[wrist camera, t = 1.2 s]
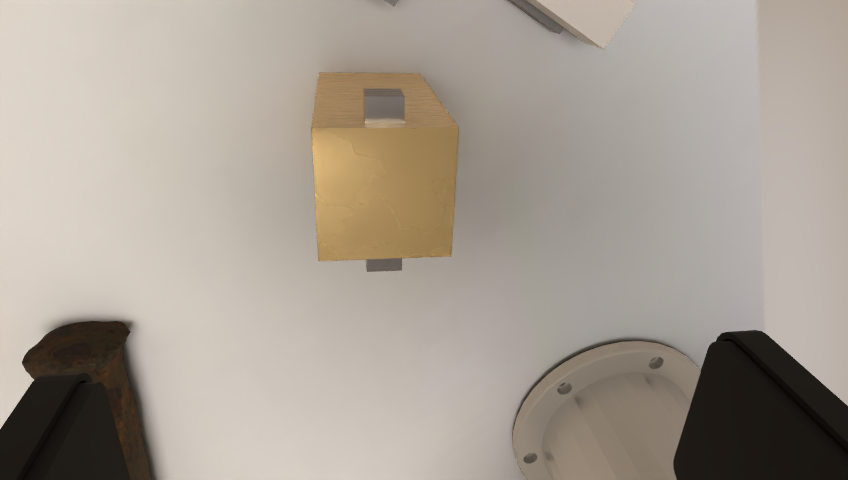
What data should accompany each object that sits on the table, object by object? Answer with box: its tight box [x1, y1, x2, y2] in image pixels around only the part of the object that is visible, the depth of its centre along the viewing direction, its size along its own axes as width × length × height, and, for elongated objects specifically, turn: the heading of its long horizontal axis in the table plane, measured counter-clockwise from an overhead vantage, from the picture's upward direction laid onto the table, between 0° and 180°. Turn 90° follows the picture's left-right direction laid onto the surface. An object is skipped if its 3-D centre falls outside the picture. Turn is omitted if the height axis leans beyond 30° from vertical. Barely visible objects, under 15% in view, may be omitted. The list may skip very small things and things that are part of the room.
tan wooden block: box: [311, 73, 459, 272], centre depth 22 cm, size 4×6×9 cm
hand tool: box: [22, 321, 151, 480], centre depth 31 cm, size 19×4×5 cm, turn 176°
